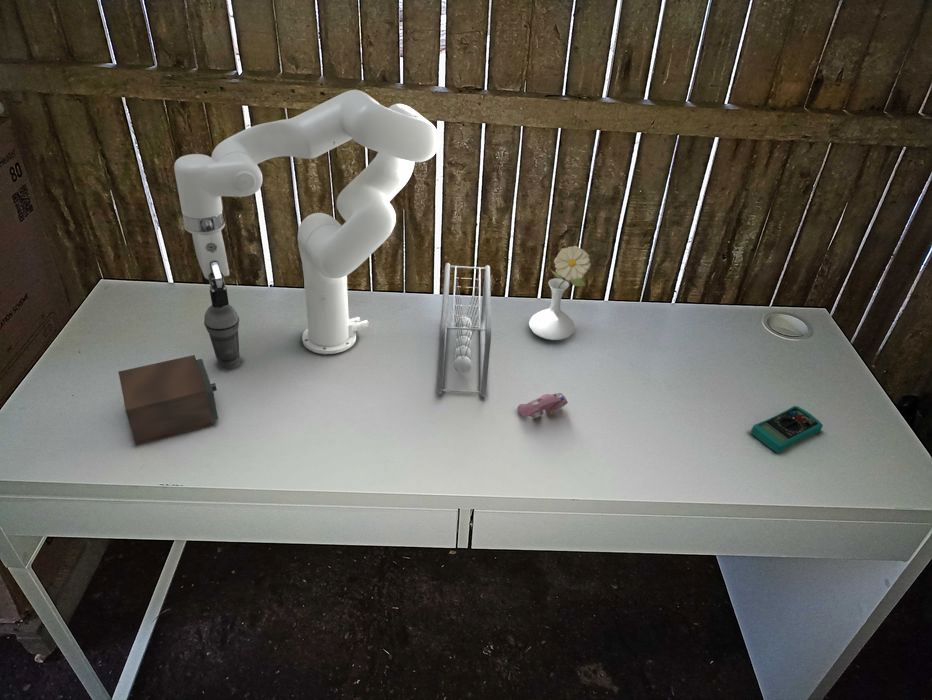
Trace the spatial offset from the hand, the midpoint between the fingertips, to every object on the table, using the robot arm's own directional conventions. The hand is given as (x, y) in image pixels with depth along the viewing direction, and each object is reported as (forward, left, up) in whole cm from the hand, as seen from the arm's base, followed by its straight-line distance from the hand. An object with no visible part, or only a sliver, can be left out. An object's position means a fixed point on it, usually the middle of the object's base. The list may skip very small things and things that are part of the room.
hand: (215, 293), depth 150 cm
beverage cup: (0, 0, -19) cm, 19 cm away
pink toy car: (-57, +42, -19) cm, 73 cm away
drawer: (+12, +13, -18) cm, 25 cm away
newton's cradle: (-50, +18, -19) cm, 56 cm away
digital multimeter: (-102, +68, -19) cm, 124 cm away
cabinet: (+14, +13, -18) cm, 27 cm away
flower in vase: (-76, +17, -19) cm, 80 cm away
